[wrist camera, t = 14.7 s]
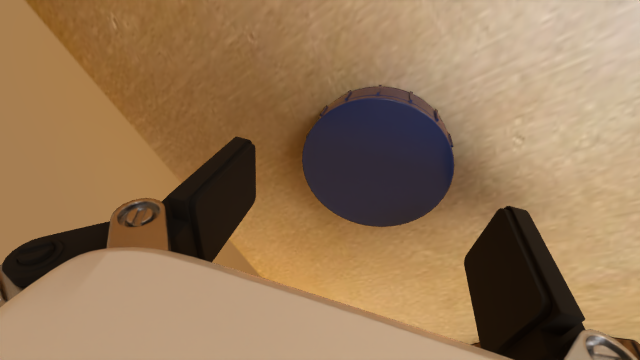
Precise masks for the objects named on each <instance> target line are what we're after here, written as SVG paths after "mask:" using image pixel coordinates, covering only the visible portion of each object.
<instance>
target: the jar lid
mask: <svg viewBox="0 0 640 360" xmlns="http://www.w3.org/2000/svg"><path fill="white" fill-rule="evenodd" d="M451 147H453V143H452V139H451V136H450V134H448V133H447V130H446V128H445V125H444V123H443V121H442V120H441V118H440V117H439V115H438V111H437V110H436V109H435V110H434V109H433V108H432V107H431V106H430V105H428V104H427V103H426V102H425V101H423V100H422V99H420V98H419V97H417V96H415V95H413V92H411V91H410V93H409V92H406V91H403V90H399V89H396V88H389V87H381V85H379V87H368V88H363V89H359V90H355V91H352V92H351V90H350V91H348V93H347V94H345V95H343V96H342V97H340V98H338V99H337V100H335V101H334V102H333V103H331V104H330V105H329V106H326V107H325V108H324V110H323V111H322V112H321V114H320V117H319V119H318V120H317V121H316V123H315V124H314V126H313V127H312V129H311V130H310V132H309V133H308V135H307V136H306V141H305V144H304V148H303V154H302V164H303V171H304V175H305V178H306V180H307V183H308V185H309V187H310V189H311V191H312V192H313V193H314V195H315V196H316V197H317V199H318V200H319V201H320V202H321V203H322V204H323V205H324V206H325V207H327V208H328V209H329V210H331V211H332V212H333V213H335V214H337V215H338V216H340V217H342V218H344V219H347V220H349V221H352V222H355V223H358V224H362V225H367V226H376V227H387V226H396V225H401V224H405V223H408V222H411V221H414V220H416V219H418V218H420V217H422V216H424V215H425V214H427V213H428V212H430V211H431V210H432V209H433V208H434V207H436V206H437V205H438V204H439V202H440V201H441V200H442V199H443V198H444V196H445V194H446V193H447V191H448V189H449V187H450V184H451V182H452V178H453V174H454V157H453V152H452V148H451Z"/></svg>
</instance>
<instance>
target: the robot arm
mask: <svg viewBox="0 0 640 360" xmlns="http://www.w3.org/2000/svg"><path fill="white" fill-rule="evenodd" d="M255 198H256V168H255V145H253V144H252V142H251V141H250V140H248V139H244V138H240V137H235V138H233V139H232V140H231V141H230V142H229V143H228V144H227V145H225V146H224V147H223V148H222V149H221V150H220V151H219V152H217V153H216V154H215V155H214V156H213V157H212V158H210V159H209V160H208V161H207V162H206V163H205V164H204V165H202V166H201V167H200V168H199V169H198V170H197V171H195V172H194V173H193V174H192V175H191V176H190V177H189V178H187V179H186V180H185V181H184V182H183V183H182V184H181V185H179V186H178V187H177V188H176V189H175V190H174V191H173V192H171V193H170V194H169V195H168V196H167V197H166V198H165V199H164V200H163V201H162V202H160V201H159V200H156V199H151V198H143V199H136V200H132V201H130V202H127V203H125V204H123V205H121V206H120V207H119V208H117V209H116V210H115V211H114V212H113V214H112V216H111V219H110V221H109V222H105V223H100V224H96V225H92V226H88V227H84V228H79V229H75V230H70V231H66V232H62V233H57V234H53V235H49V236H45V237H41V238H38V239H34V240H31V241H29V242H27V243H25V244H23V245H21V246H19V247H18V248H17V249H15V250H14V251H12V252H11V253H10V254H9V255H8V256H7V257H6V258H5V260H4V262H3V264H2V265H0V360H638V359H637V358H636V357H635V356H634V355H633V354H632V353H631V352H630V351H629V350H628V349H627V348H625V347H624V346H623V345H622V344H621V343H619V342H618V341H616V340H615V339H613V338H612V337H610V336H608V335H606V334H604V333H602V332H599V331H595V330H591V329H590V330H585V328H584V326H583V324H582V321H584V320H585V318H584V316H583V314H582V312H581V310H580V308H579V306H578V305H577V303H576V301H575V299H574V297H573V295H572V293H571V291H570V290H569V288H568V286H567V284H566V282H565V280H564V278H563V276H562V275H561V273H560V271H559V269H558V267H557V265H556V263H555V261H554V260H553V258H552V256H551V254H550V252H549V250H548V248H547V246H546V245H545V243H544V241H543V239H542V237H541V235H540V233H539V231H538V230H537V228H536V226H535V224H534V222H533V220H532V218H531V216H530V215H529V213H528V212H527V211H526V210H523V209H519V208H515V207H511V206H506V207H505V208H504V209H503V208H500V209H499V210H498V211H497V212H496V213H495V215H494V216H493V218H492V219H491V221H490V222H489V223H488V225H487V226H486V228H485V229H484V231H483V232H482V233H481V235H480V236H479V238H478V239H477V241H476V242H475V243H474V245H473V246H472V248H471V249H470V251H469V252H468V253H467V255H466V257H465V260H464V266H465V271H466V276H467V281H468V286H469V291H470V296H471V301H472V306H473V311H474V316H475V321H476V326H477V331H478V336H479V341H480V345H481V348H478V347H475V346H472V345H469V344H466V343H463V342H460V341H457V340H454V339H451V338H448V337H445V336H442V335H439V334H435V333H432V332H429V331H426V330H423V329H420V328H417V327H414V326H411V325H408V324H405V323H402V322H399V321H396V320H393V319H389V318H386V317H383V316H380V315H377V314H374V313H371V312H368V311H365V310H361V309H358V308H355V307H352V306H349V305H346V304H343V303H340V302H336V301H333V300H330V299H327V298H324V297H321V296H318V295H315V294H311V293H308V292H305V291H302V290H299V289H296V288H293V287H289V286H286V285H283V284H280V283H277V282H274V281H270V280H267V279H264V278H261V277H258V276H254V275H251V274H248V273H244V272H242V271H238V270H235V269H232V268H229V267H225V266H221V265H219V264H215V263H212V261H213V260H214V259H215V257H216V256H217V254H218V253H219V252H220V250H221V249H222V247H223V246H224V244H225V243H226V242H227V240H228V239H229V237H230V236H231V235H232V233H233V232H234V230H235V229H236V228H237V226H238V225H239V223H240V222H241V221H242V219H243V218H244V216H245V215H246V214H247V212H248V211H249V209H250V208H251V207H252V205H253V204H254V201H255Z"/></svg>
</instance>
